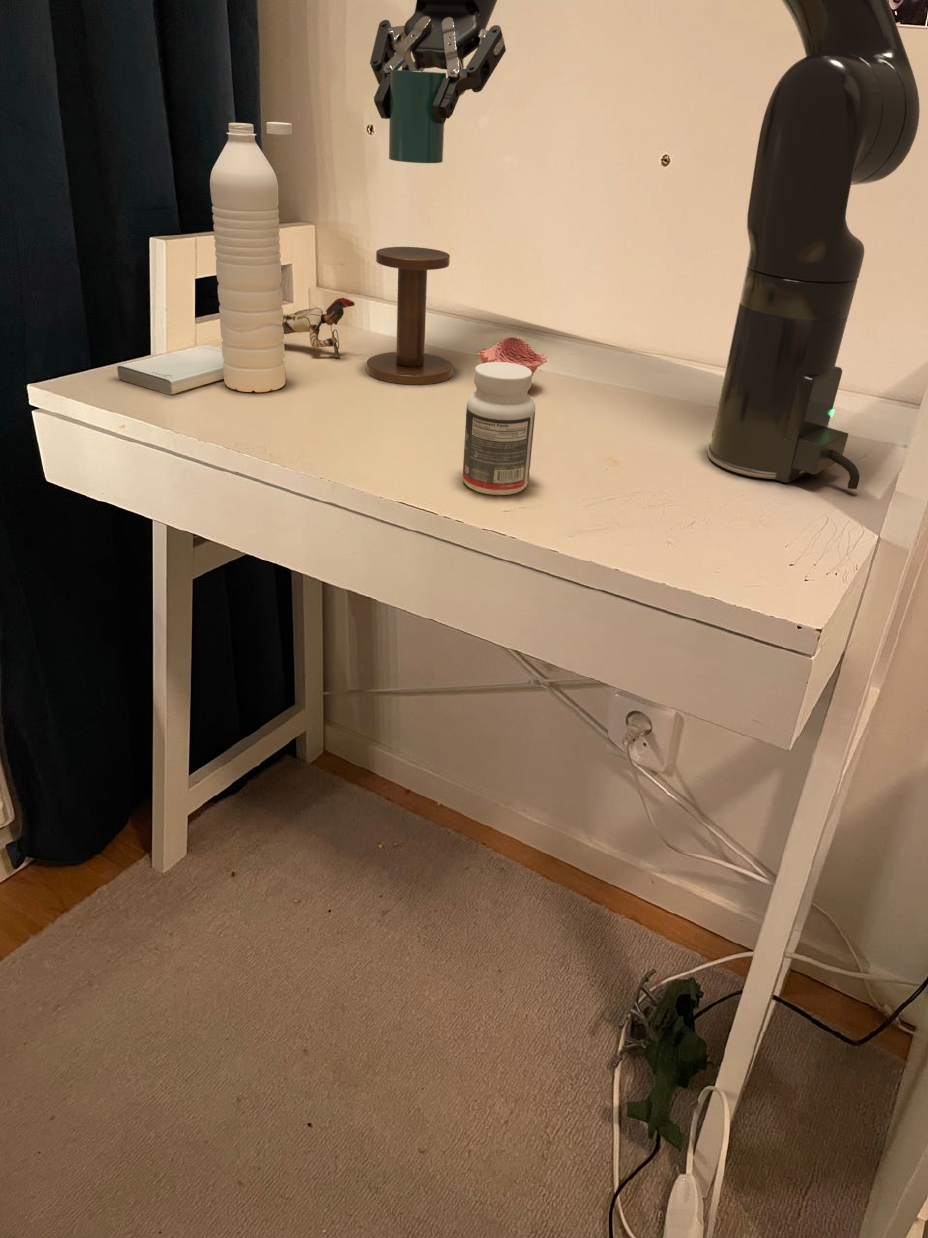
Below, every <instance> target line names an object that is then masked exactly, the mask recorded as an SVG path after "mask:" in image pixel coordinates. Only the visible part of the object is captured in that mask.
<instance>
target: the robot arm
mask: <svg viewBox="0 0 928 1238" xmlns="http://www.w3.org/2000/svg"><path fill="white" fill-rule="evenodd" d="M780 1H781V2H782V4H783V6H784V7H785V9H786V10H787V12H788V13H789V15H790V17H791V19H792V22H793V23H794V25H795V28H796V30H797V32H798V35H799V38H800V40H801V44H802V48H803V50H804V51H803V52H804V54H805V57H803V58H801V59H799V60H798V61H796V62H795V63H794V64H792V65H791V66H790V67H789V68H788V69H787V70H786V71H785V73H783V75H782V76H781V77H780V79H779V81H778V82H777V84H776V86H775V87H774V89H773V91H772V93H771V95H770V98H769V99H768V102H767V105H766V107H765V111H764V114H763V117H762V121H761V126H760V131H759V136H758V141H757V146H756V153H755V159H754V160H755V161H754V166H753V173H752V179H751V185H750V193H749V200H748V206H747V213H746V214H747V215H746V231H747V238H748V244H749V252H748V258H747V264H746V269H745V274H744V278H743V284H742V288H741V293H740V298H739V302H738V307H737V313H736V317H735V321H734V328H733V332H732V336H731V342H730V347H729V351H728V357H727V361H726V365H725V366H726V367H725V370H724V371H725V372H724V377H723V381H722V386H721V391H720V396H719V401H718V405H717V411H716V416H715V422H714V425H713V426H714V427H713V430H712V433H711V441H710V444H709V445H708V449H707V456H708V458H709V459H710V460H711V461H712V462H713V463H714V464H716V465H717V466H719V467H721V468H723V469H725V470H728V471H730V472H733V473H736V474H740V475H743V476H748V477H753V478H758V479H767V480H776V481H779V482H782V483H785V484H787V483H790V482H792V481H794V480H796V479H798V478H800V477H803V476H805V475H806V474H808V473H809V474H810V475H817V474H818V473H821V472H823V471H824V470H826V469H829V468H831V467H832V466H835V465H837V464H838V465H839V466H840V467H842V468H843V469H845V471H847V473H848V475H849V480H848V482H847V489H849V490H857V489H858V485H859V483H860V471H859V470H858V467H857V466H856V465H855V463H854V462H853V461H852V460H850V459H849V458H848V457H846V456H844V451H845V448H846V445H847V440H848V438H849V433H848V432H845V431H842V430H838V429H835V428H831V427H829V424H830V420H831V417H833V416H834V414H835V409H833V408H834V404H835V402H836V397H837V394H838V390H839V387H840V382H841V379H842V375H843V369H842V368H841V367H840V366H836V364H837V360H838V358H839V357H838V356H839V353H840V350H841V345H842V341H843V337H844V334H845V329H846V326H847V322H848V318H849V315H850V310H851V307H852V303H853V298H854V295H855V291H856V288H857V284H858V279H859V277H860V274H861V269H862V266H863V262H864V258H865V245H864V244H863V241H861V239H859V238H858V237H857V236H855V235H854V234H853V233H852V232H851V231H850V229H849V226H848V223H847V217H846V216H847V209H848V204H849V203H848V202H849V196H850V193H851V187H852V186H860V185H868V184H871V183H875V182H879V181H881V180H883V179H885V178H886V177H888V176H890V175H891V174H893V173H894V172H895V171H896V170H897V169H898V168H899V167H900V166H901V165H902V164H903V162H904V161H905V159H906V157H908V154H909V153H910V151H911V149H912V146H913V144H914V142H915V139H916V136H917V133H918V128H919V124H920V123H919V122H920V112H921V111H920V109H921V108H920V96H919V90H918V86H917V82H916V78H915V73H914V71H913V69H912V66H911V63H910V60H909V57H908V54H907V51H906V48H905V45H904V43H903V40H902V36H901V35H900V34H901V33H900V32H899V28H898V25H897V23H896V20H895V16H894V14H893V11H892V8H891V5H890V2H889V0H780ZM497 3H498V0H416V1H415V9H414V12H413V14H412V16H410V17H409V18H408V19H407V20H406V22H405V24H404V25H397V26H392V24H391V21H390V20H389V19H383V20H382V21H380V22H379V24H378V26H377V27H378V28H377V31H376V35H375V40H374V45H373V48H372V52H371V56H370V60H369V65H370V66H371V69H372V71H373V74H374V77H375V80H376V81H377V84H378V87H377V90H376V92H375V94H374V97H373V102H374V105H375V107H376V110H377V112H378V114H379V116H380V118H381V119H383V120H390V70H400V68H401V70H409V71H425V69H432V68H437V69H440V70H446V75H447V77H446V78H443V80H442V82H441V85H440V87H439V90H438V92H437V95H436V97H435V99H434V102H433V104H432V113H433V116H434V118H435V121H436V123H439V124H444V123H446V121H447V119H450V118H451V116H453V114H454V111H455V109H456V107H457V105H458V101H459V99H460V97H461V96H463V95H464V94H465V92H466V91H469V90H471V92H473V93H480V92H481V91H483V89H484V87H485V86H486V85H487V83H488V81H489V79H490V78H491V76H492V74H493V73H494V71H495V69H497V66H498V65H499V63H500V61H501V60H502V58H503V57H504V54H505V53H506V51H507V48H506V44H505V39H504V35H503V32H502V28H501V26H500V25H498V24H494V25H492V26H491V27H490V28H489V29H487V26H488V25H489V22H490V19H491V16H492V15H493V13H494V9H495V7H496V4H497ZM472 53H474V54H473V55H472V57H471V58H470V60H469V62H468V63H467V65H466V67H465V64H464V63H465V62H464V61H465V60H464V59H466V58H467V57H468V56H469V55H471V54H472ZM444 125H445V124H444Z"/></svg>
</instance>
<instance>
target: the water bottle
mask: <svg viewBox="0 0 928 1238" xmlns="http://www.w3.org/2000/svg"><path fill="white" fill-rule="evenodd" d="M265 127H266V134H269V135H281V136H282V135H283V136H290V135H293V124H292V123H291V122H290V123H289V122H281V121H267V122H266V123H265ZM254 129H255V128H254V124H252V123H244V122H229V123H228V132H226V135H228V136H227V137H228V139H227V141H226V144H225V145H224V147H223V149H222V151H221V152H220V154H219V156H218V158H217V160H216V161H215V163H214V165H213V167H212V169H211V172H210V176H209V177H210V178H209V190H210V191H209V192H210V199H211V204H212V206H211V212H212V222H213V226H212V227H213V231H214V233H213V239H214V240H215V241H214V248H215V252H214V254H215V255H214V256H215V257H216V259H215V273H216V280H217V283H218V284H217V298H218V299H217V300H218V302H219V306H218V312H219V317H220V320H219V329H220V337H221V339H222V342H221V348H222V355H223V358H224V361H223V371H224V379H223V381H224V384H225V386H227V387H228V388H229V389H231V390H237V391H239V392H243V393H252V392H255V393H267V392H269V391H277V390H279V389H282V388H283V387H284V386H285V385H286V380H287V377H286V375H287V373H286V362H285V356H286V355H285V343H284V340H285V334H284V329H283V326H282V323H283V315H284V309H283V305H282V304H283V288H282V285H281V284H282V282H283V281H282V280H283V277H282V262H281V260H280V259H281V256H282V255H281V244H280V241H281V236H280V217H279V215H280V209H279V196H280V195H279V182H278V178H277V176H276V173H275V171H274V168H273V167H272V165H271V164H270V162H269V161H268V159H267V158H266V156H265V155H264V153H263V151H262V150H261V148H260V146H259V145H258V144H257V141H256V137H255V136H257V133H254V131H255V130H254Z"/></svg>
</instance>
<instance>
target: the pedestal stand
mask: <svg viewBox="0 0 928 1238" xmlns="http://www.w3.org/2000/svg"><path fill="white" fill-rule="evenodd" d="M375 253H376V254H375V258H376V259H375V262H376V263H377V264H379V265H381V266H384V267H388V268H393V269H397V299H396V301H397V302H396V306H397V307H396V346H395V347H396V348H395V349H396V350H395V351H392V352H390V351H389V352H384V353H379V354H375V355H372V356H371V357H369V358H368V359H367V360H366V364H365V365H366V373H367V374H368V375H369V376H370V377H372V378H374V379H377V380H380V381H383V382H387V383H391V384H392V383H393V384H397V385H398V384H400V385H411V386H412V385H413V386H414V385H415V386H416V385H418V386H419V385H421V386H422V385H432V384H438V383H442V382H445V381H447V380H449V379H451V378H452V377H453V375H454V364H453V363H452V361H450V360H448V359H446V358H445V357H442V356H439V355H435V354H430V353H425V348H426V347H425V346H426V345H425V344H426V319H427V318H426V317H427V291H428V290H427V289H428V271H435V270H441V269H446V268H448V267H449V266H450V261H451V256H450V254H449V253H448V252H445V251H443V250H439V249H434V248H429V247H428V248H427V247H417V246H389V247H383V248H379V249H377V250H376V251H375Z"/></svg>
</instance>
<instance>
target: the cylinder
mask: <svg viewBox="0 0 928 1238" xmlns="http://www.w3.org/2000/svg"><path fill="white" fill-rule="evenodd" d="M443 78H447V72H439V71H425V70H423V71H409V70H402V69H398V70H390V118H389V125H388V126H389V129H388V130H389V131H388V132H389V133H388V135H389V137H388V139H389V141H388V159H389V160H390V161H394V162H400V163H401V162H402V163H412V164H442V163H443V162H444V151H445V150H444V148H445V145H444V144H445V123H446V122H445V123H444V124H439V123H436V121H435V118H434V116H433V113H432V104H433V102H434V99H435V97H436V95H437V92H438V90H439V87H440V85H441V82H442V80H443Z"/></svg>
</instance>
